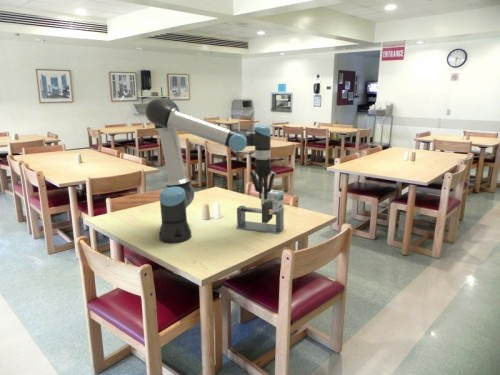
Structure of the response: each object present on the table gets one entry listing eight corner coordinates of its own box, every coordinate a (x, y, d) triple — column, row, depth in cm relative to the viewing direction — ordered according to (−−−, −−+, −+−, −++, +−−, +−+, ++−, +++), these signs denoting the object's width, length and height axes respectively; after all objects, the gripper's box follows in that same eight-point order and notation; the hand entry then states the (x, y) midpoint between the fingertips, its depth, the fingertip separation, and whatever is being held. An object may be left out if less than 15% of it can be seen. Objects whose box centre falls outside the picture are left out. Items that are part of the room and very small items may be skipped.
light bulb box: (283, 208, 219) (284, 190, 216) (278, 211, 213) (278, 193, 211) (268, 206, 225) (268, 188, 222) (262, 209, 219) (262, 191, 216)
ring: (261, 222, 182) (261, 205, 180) (267, 217, 190) (267, 200, 188) (266, 223, 181) (266, 205, 179) (272, 217, 189) (272, 200, 187)
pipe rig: (235, 228, 188) (234, 208, 185) (243, 222, 197) (242, 203, 194) (279, 233, 179) (279, 213, 177) (284, 227, 188) (285, 207, 186)
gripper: (247, 159, 178) (248, 206, 183) (273, 160, 173) (273, 208, 179) (253, 156, 184) (254, 202, 190) (278, 157, 180) (278, 204, 185)
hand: (263, 205), depth 184 cm, fingers closed
